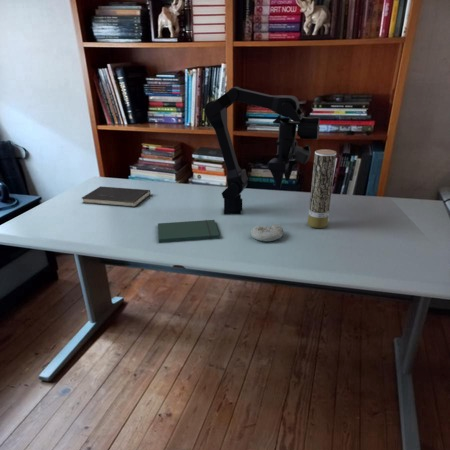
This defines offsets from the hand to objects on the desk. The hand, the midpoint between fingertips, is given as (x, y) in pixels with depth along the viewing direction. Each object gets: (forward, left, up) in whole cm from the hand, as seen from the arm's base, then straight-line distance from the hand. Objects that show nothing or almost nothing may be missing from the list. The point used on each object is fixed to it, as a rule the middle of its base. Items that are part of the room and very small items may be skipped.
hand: (283, 184), depth 148 cm
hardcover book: (-66, +20, -12) cm, 70 cm away
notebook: (-33, -15, -12) cm, 38 cm away
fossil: (-6, -19, -12) cm, 23 cm away
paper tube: (+12, -9, -12) cm, 19 cm away
